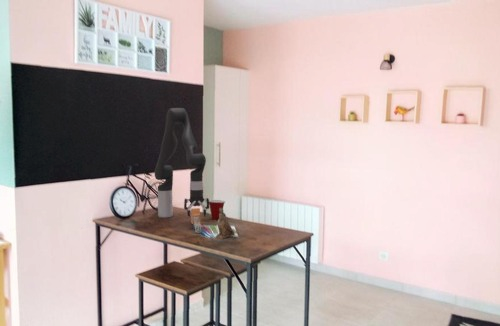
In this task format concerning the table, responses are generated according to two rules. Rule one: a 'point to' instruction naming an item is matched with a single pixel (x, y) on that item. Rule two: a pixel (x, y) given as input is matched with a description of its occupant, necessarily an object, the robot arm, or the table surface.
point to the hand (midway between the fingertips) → (196, 216)
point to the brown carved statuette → (224, 226)
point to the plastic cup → (215, 208)
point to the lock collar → (195, 213)
